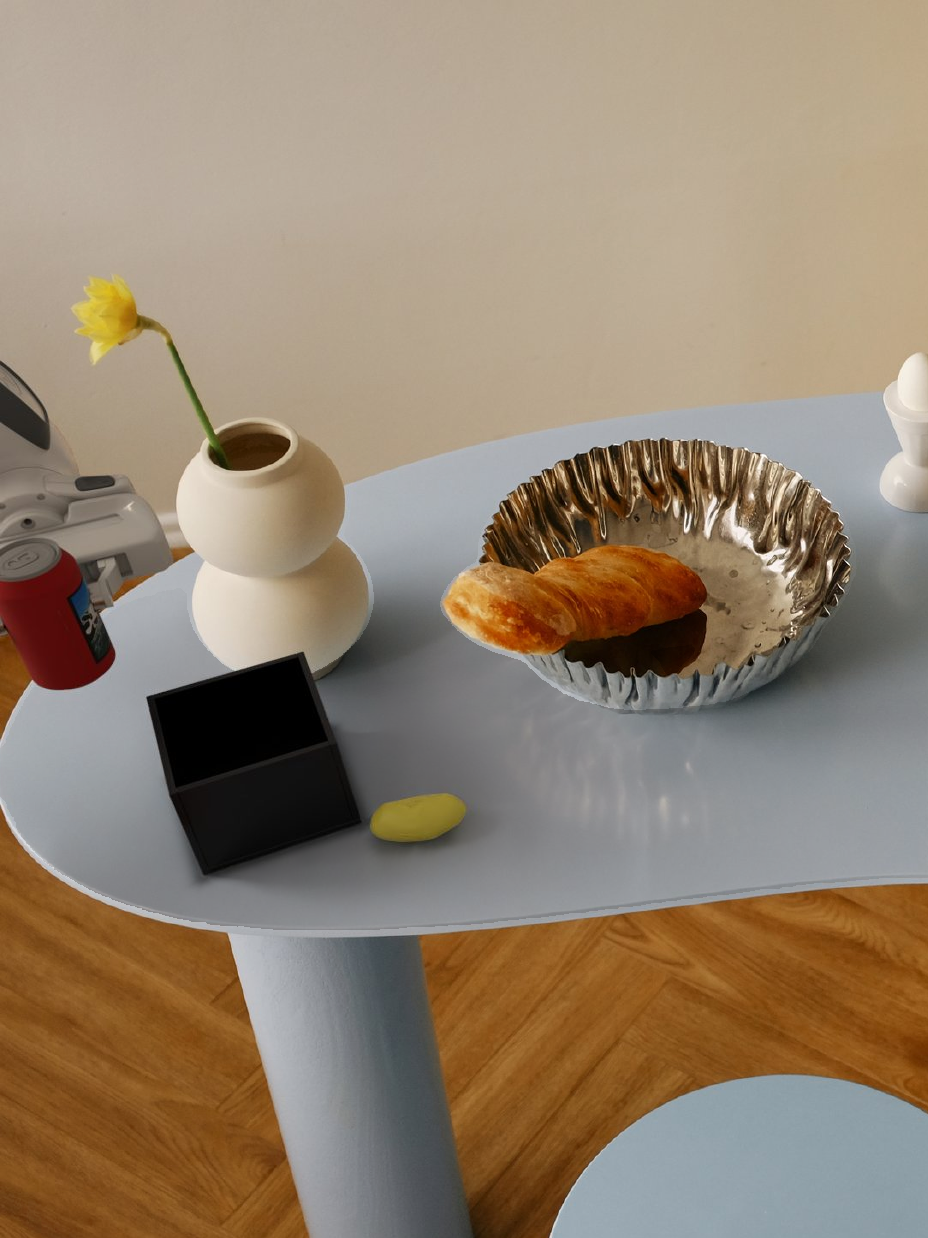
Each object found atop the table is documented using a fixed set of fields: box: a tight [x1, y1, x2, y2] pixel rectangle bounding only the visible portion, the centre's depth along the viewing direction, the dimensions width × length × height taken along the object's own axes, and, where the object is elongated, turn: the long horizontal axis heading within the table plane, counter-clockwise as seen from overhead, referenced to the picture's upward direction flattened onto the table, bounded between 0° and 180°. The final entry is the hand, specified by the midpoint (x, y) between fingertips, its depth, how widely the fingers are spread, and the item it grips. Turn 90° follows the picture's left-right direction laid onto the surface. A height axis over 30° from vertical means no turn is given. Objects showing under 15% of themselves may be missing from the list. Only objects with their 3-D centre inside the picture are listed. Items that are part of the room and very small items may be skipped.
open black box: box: [145, 651, 363, 876], centre depth 129 cm, size 13×13×10 cm
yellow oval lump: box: [369, 792, 467, 843], centre depth 128 cm, size 4×8×4 cm, turn 100°
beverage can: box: [0, 538, 117, 691], centre depth 123 cm, size 7×7×12 cm
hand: (49, 615), depth 122 cm, fingers closed on beverage can, 6 cm apart
